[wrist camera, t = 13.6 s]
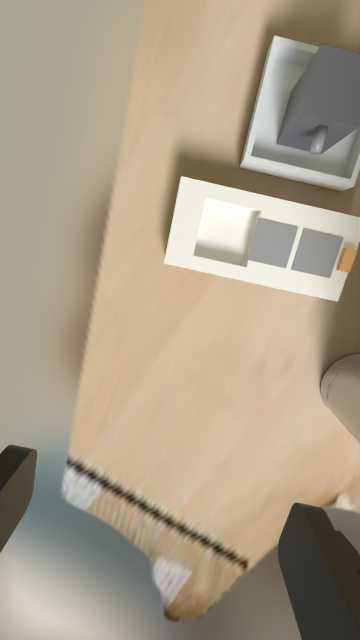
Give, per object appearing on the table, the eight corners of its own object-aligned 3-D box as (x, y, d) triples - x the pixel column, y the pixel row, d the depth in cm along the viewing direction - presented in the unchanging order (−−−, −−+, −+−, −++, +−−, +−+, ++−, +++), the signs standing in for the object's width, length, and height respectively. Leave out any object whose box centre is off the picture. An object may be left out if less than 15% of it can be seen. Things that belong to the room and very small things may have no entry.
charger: (336, 102, 30) (381, 58, 23) (314, 174, 31) (350, 152, 24) (290, 91, 29) (322, 43, 23) (271, 163, 31) (294, 139, 24)
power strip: (348, 222, 33) (371, 218, 29) (323, 296, 35) (340, 302, 31) (181, 183, 32) (180, 174, 28) (166, 262, 35) (163, 263, 31)
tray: (377, 80, 30) (394, 65, 27) (341, 191, 32) (354, 186, 30) (267, 53, 29) (274, 35, 27) (239, 167, 32) (243, 160, 29)
